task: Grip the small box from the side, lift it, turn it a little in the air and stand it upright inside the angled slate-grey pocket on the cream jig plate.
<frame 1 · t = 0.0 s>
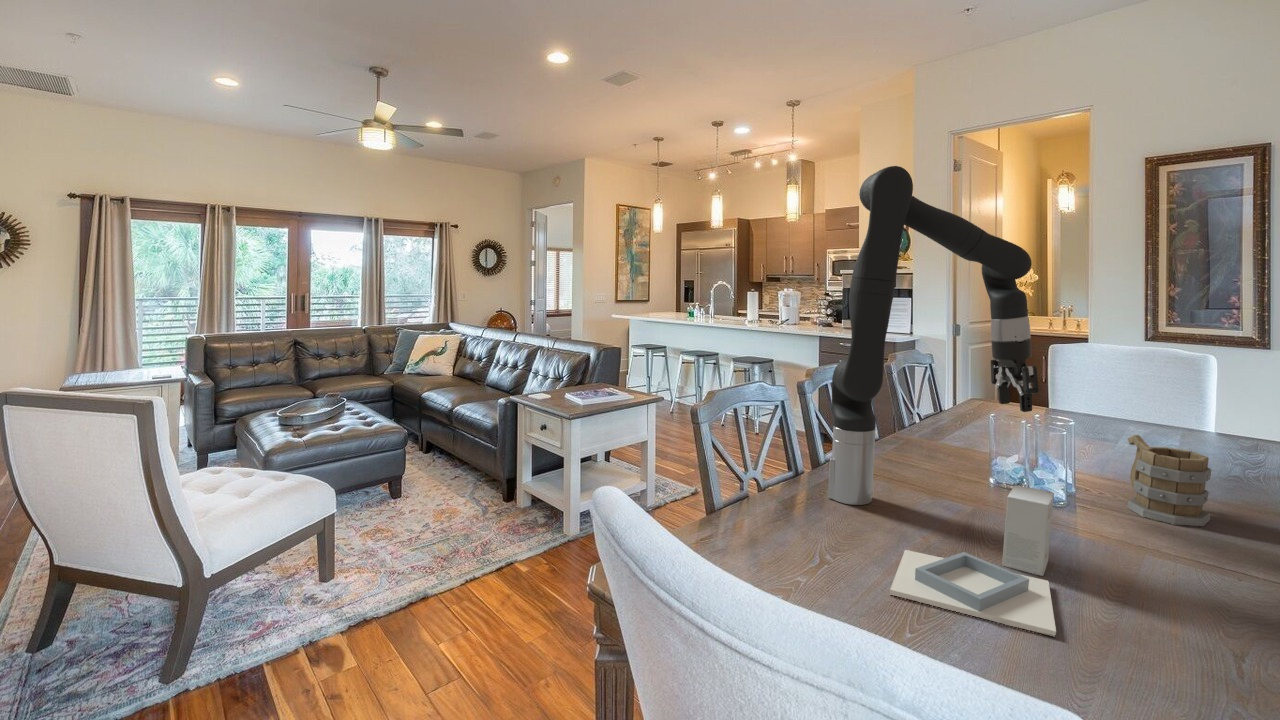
hand: (1015, 407, 133), 22 cm above the table, tool pointing down, fingers open, 8 cm apart
jig cradle: (970, 590, 96), on the table
small box: (1024, 564, 106), on the table
tankard: (1155, 509, 132), on the table
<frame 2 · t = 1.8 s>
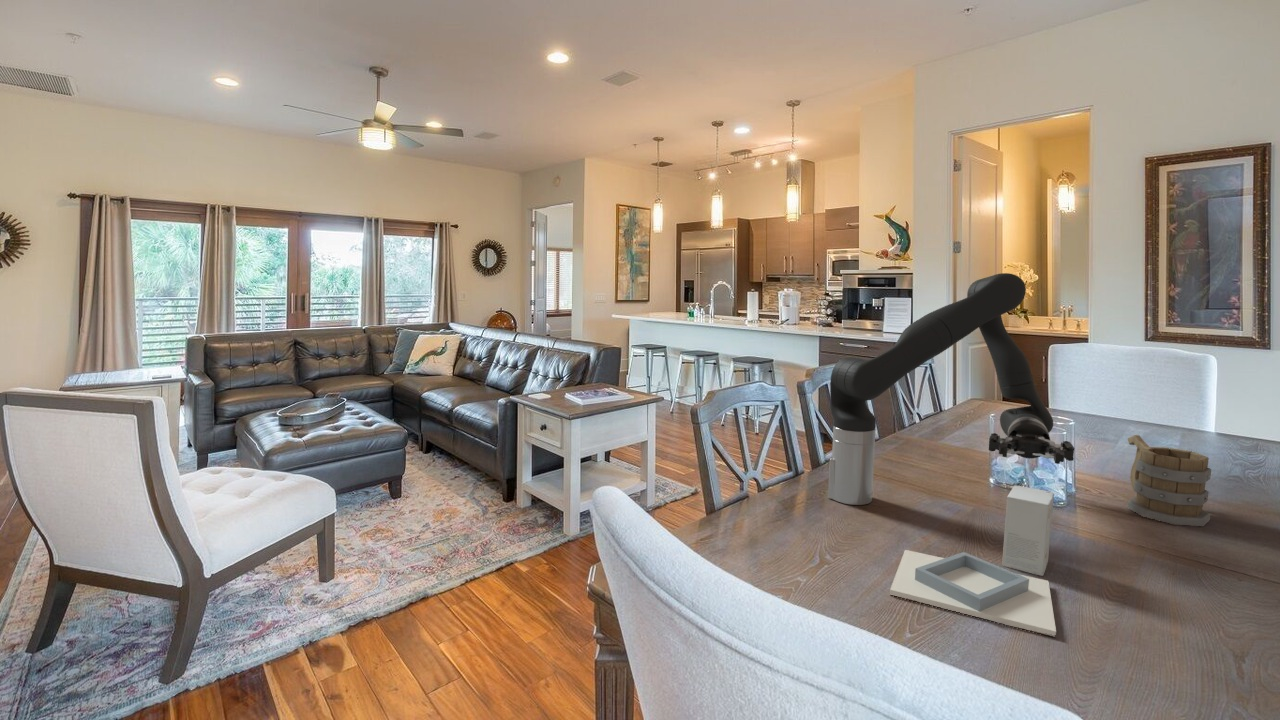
hand: (1031, 455, 113), 17 cm above the table, tool horizontal, fingers open, 8 cm apart
nothing on the table moved.
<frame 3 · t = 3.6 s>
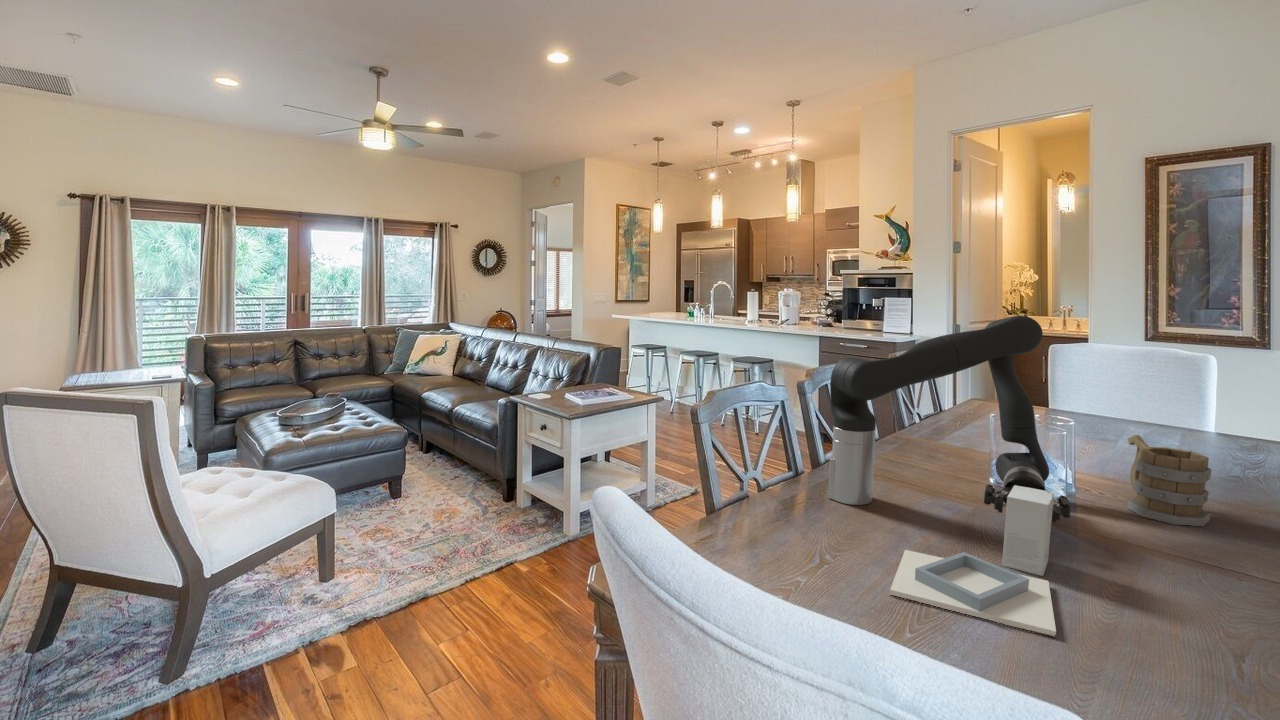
hand: (1026, 512, 111), 7 cm above the table, tool horizontal, fingers open, 8 cm apart
nothing on the table moved.
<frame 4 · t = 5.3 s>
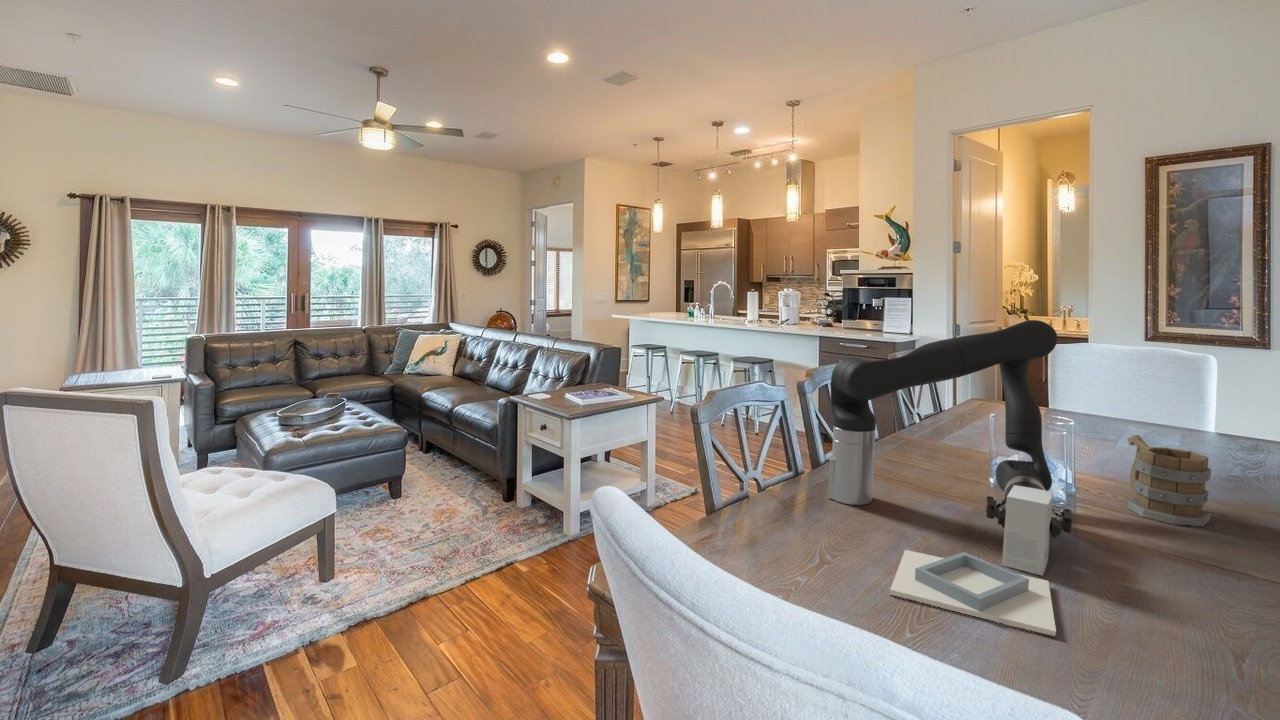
hand: (1029, 527, 104), 7 cm above the table, tool horizontal, fingers closed on small box, 7 cm apart
small box: (1024, 563, 106), on the table, touching gripper
everything else where it was.
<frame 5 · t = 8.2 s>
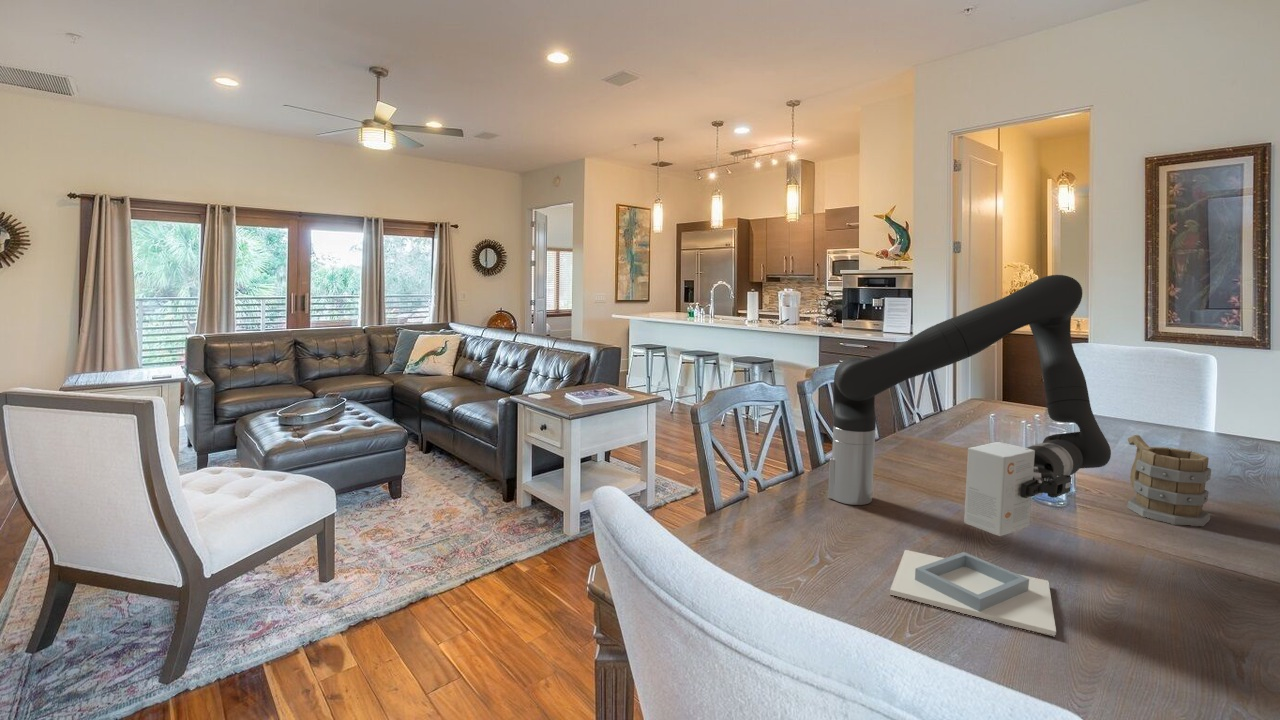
hand: (998, 485, 95), 18 cm above the table, tool horizontal, fingers closed on small box, 7 cm apart
small box: (995, 526, 97), point 10 cm above the table, touching gripper
everything else where it was.
when the fingers open (10 cm above the table, at t = 11.1 s): small box drops 2 cm, resting on jig cradle.
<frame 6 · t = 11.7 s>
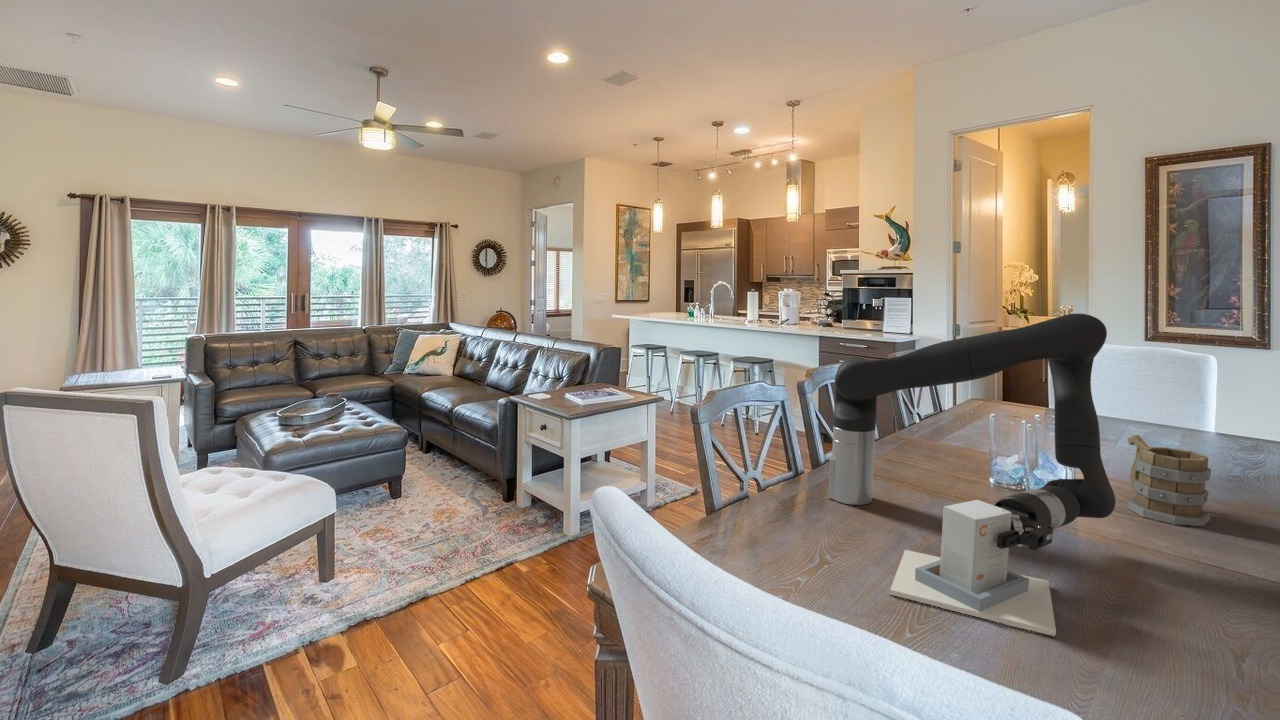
hand: (973, 532, 95), 10 cm above the table, tool horizontal, fingers open, 8 cm apart
small box: (971, 585, 96), point 1 cm above the table, touching jig cradle
everything else where it was.
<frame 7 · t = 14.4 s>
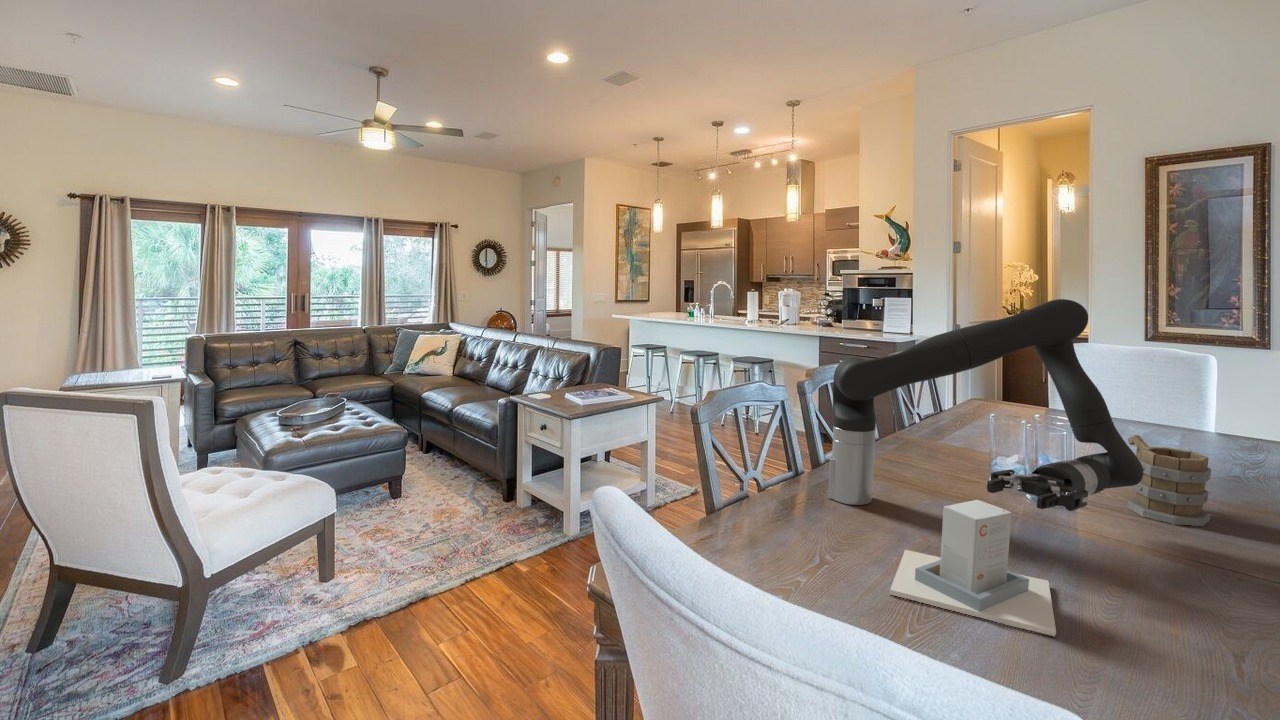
hand: (1013, 494, 103), 13 cm above the table, tool horizontal, fingers open, 8 cm apart
nothing on the table moved.
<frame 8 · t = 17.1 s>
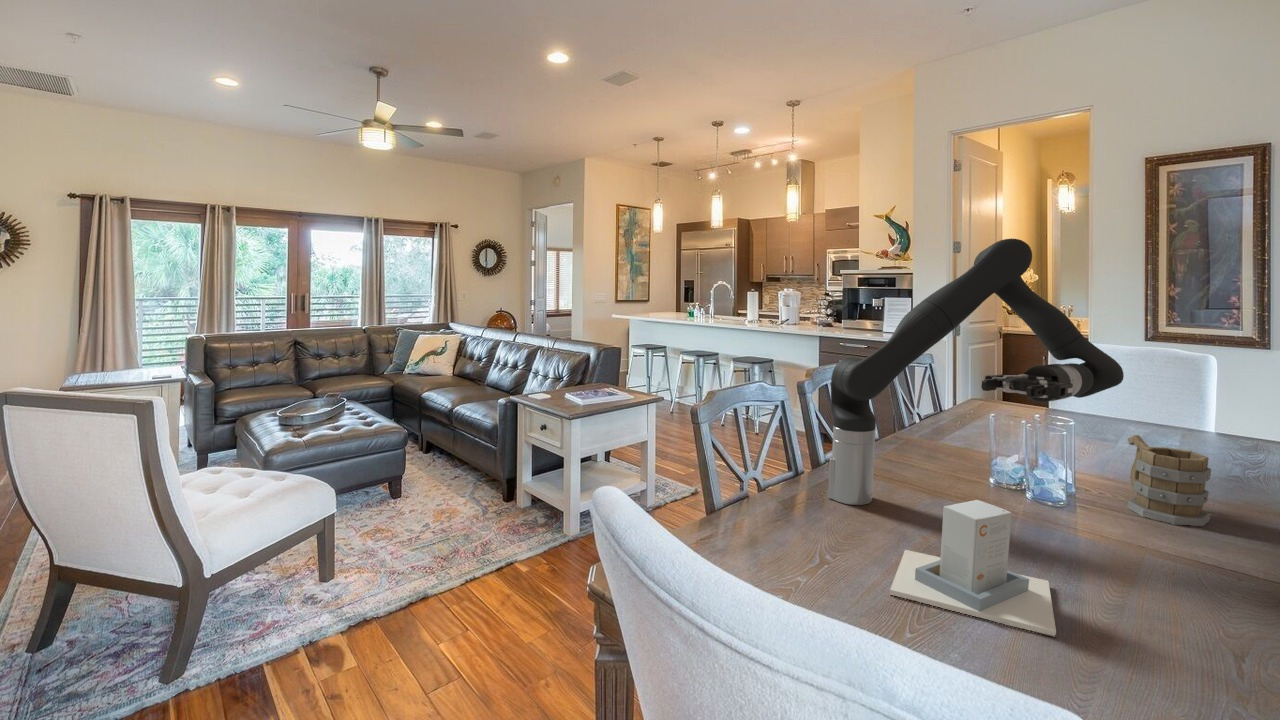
hand: (1005, 388, 114), 30 cm above the table, tool horizontal, fingers open, 8 cm apart
nothing on the table moved.
at the end: small box 0.4 cm off-centre on the jig cradle, point 0.8 cm above the jig cradle's base; small box tilted 0°; the gripper is holding nothing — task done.
